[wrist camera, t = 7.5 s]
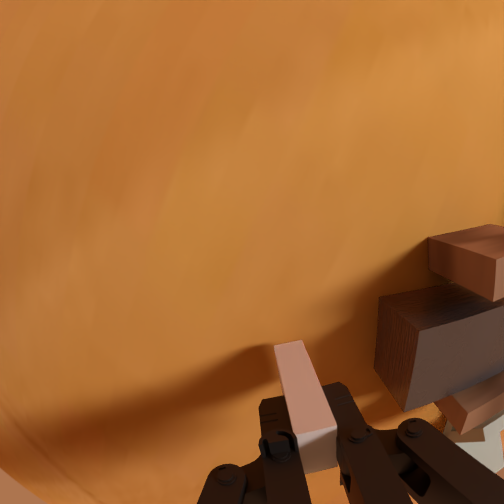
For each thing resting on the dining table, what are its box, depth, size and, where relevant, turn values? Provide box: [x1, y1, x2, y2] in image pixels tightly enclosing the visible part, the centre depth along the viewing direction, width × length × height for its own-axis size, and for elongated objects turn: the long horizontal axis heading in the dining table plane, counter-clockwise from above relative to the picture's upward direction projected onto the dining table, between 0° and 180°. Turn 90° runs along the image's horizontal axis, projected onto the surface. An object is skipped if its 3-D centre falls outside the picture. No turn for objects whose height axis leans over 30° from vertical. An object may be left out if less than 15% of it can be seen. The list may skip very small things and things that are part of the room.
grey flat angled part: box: [443, 409, 504, 473], centre depth 17 cm, size 7×11×6 cm, turn 10°
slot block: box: [428, 224, 504, 435], centre depth 14 cm, size 6×11×6 cm, turn 10°
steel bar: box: [374, 282, 504, 412], centre depth 15 cm, size 17×5×5 cm, turn 96°
